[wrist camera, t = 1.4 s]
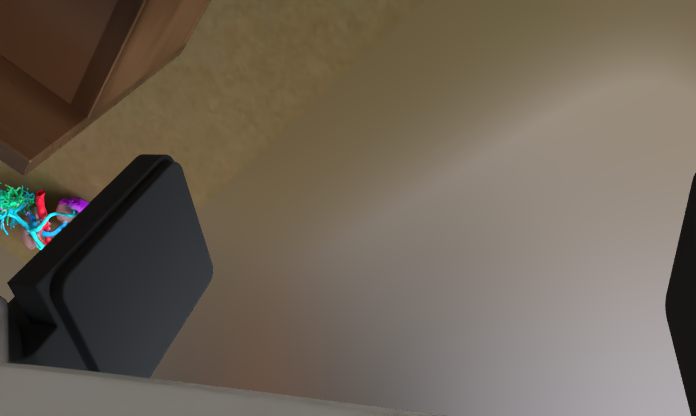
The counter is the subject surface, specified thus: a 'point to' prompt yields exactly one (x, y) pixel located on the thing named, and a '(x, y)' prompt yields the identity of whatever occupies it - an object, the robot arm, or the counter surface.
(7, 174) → the counter surface
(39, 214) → the anatomy model
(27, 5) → the shelf
